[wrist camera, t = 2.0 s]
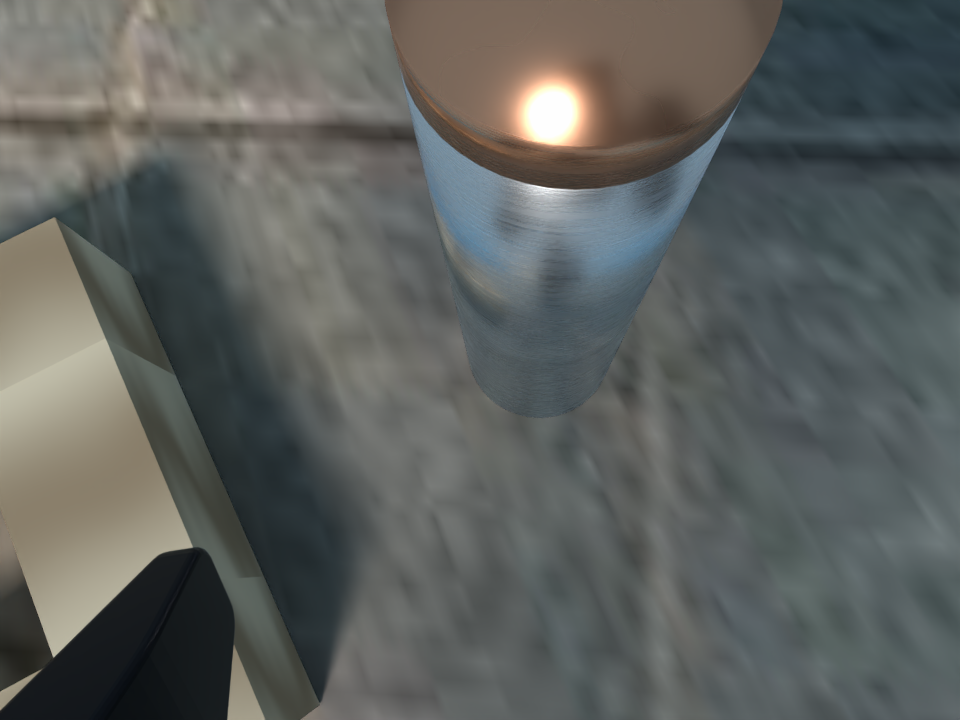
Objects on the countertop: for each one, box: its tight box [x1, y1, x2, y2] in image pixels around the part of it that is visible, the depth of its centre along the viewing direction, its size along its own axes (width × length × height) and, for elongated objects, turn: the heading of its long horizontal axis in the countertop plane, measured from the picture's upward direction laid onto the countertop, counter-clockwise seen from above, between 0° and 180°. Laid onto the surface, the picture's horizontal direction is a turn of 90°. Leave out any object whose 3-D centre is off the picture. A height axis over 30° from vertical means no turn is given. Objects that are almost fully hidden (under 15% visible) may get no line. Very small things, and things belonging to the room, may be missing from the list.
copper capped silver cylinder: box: [385, 0, 783, 418], centre depth 13 cm, size 4×4×13 cm
